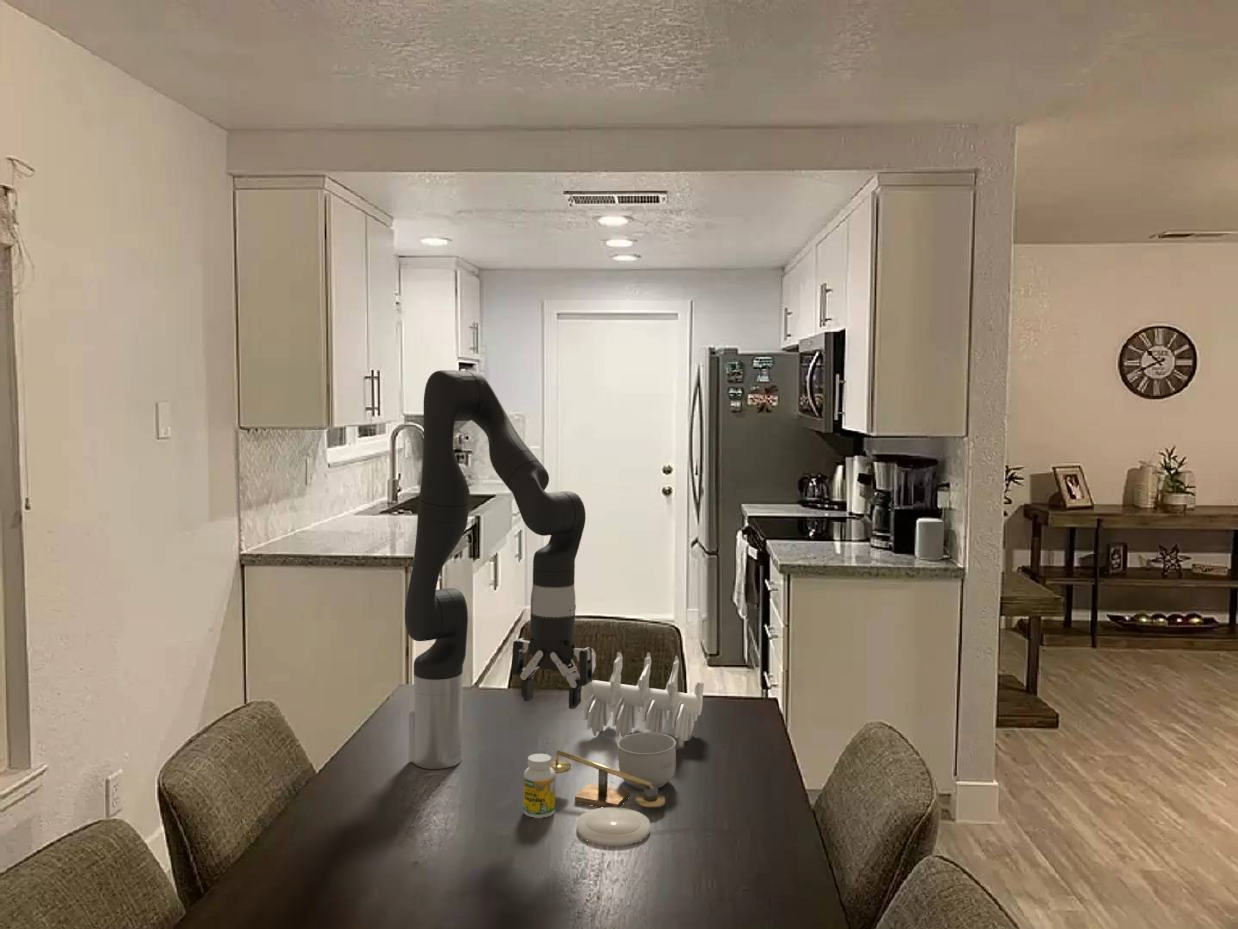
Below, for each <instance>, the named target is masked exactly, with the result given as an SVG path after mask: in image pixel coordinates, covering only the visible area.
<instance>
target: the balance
mask: <svg viewBox="0 0 1238 929" xmlns="http://www.w3.org/2000/svg"><path fill="white" fill-rule="evenodd" d="M559 756H560V757H563V758H566V759H568V760H571V761H574V762H575V763H580V764H582V765H585V766H588V767H590V768H593V769H596V770H598V781H597V782H598V783H597V784H598V785H596V784H590V783H588V784H587V785H586V786H585V787H583V788H582V789H581V790H580V791H579V792H578V793H577V794H575V795H574V803H575V804H577V803H581V804H580V805H582V804H587V805H586V806H588V805H593V806H597V807H596V808H599V807H603V808H605V807H619V808H620V807H621V806H622V805H623V803H625V802H626V801H627V800H628V801H629V799H630V798H631V791H630V790H624V789H619V788H613V787H608V780H609V779H608V778H609V775H608V774H611V775H612V776H616V777H618V778H621V779H623V778H624V779H626V780H629V781H632V782H635V783H637V784H640V785H643V786H644V789H643V793H641V794H638V795H637V796H636V798H635V803H636V804H637V805H639V806H640V807H643V808H647V809H649V808H650V809H654V808H655V809H656V808H660V807H663V806H665V804H666V798H665V796H664V795H661V794H659V793H658V792H659V791H658V790H659V788H658V787H657V786H655V785H652V783H651V782H648V781H645V780H642V779H640V778H637V777H634V776H631V775H628V774H626V773H623V772H620V771H619V770H617V769H614V768H611V767H608V766H606V765H604V764H600V763H597V762H594V761H592V760H589V759H587V758H584V757H582V756H578V755H574V754H572V753H570V752H567V751H564V750H561V749H557V750H556V752H555V759H551V768H553V770H554V771H555V774H564V773H567V772H569V771H571V770H572V764H571V762H569V761H566V760H563V759H560V758H559ZM624 779H623V780H624ZM629 797H630V798H629ZM628 798H629V799H628ZM628 801H627V802H628ZM627 802H626V803H627ZM626 803H625V804H626ZM593 806H592V807H593ZM623 806H624V805H623ZM623 806H622V807H623ZM622 807H621V808H622Z"/></svg>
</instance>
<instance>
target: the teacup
mask: <svg viewBox="0 0 1238 929" xmlns="http://www.w3.org/2000/svg"><path fill="white" fill-rule="evenodd" d="M675 739H676V738H675V737H673V736H671V735H669V734H664V733H662V734H661V733H651V732H650V730H645V729H643V730H642V731H641V732H635V733H632V734H631V733H630V734H629V735H626V736H625V737H623V738H622V737H621V738H619V740H618V741H617V743H616V747H617V762H618V769H619V770H618V771H620V772H623V773H626V774H628V775H631V776H634V777H637V778H640V779H642V780H645V781H648V782H651V783H652V785H655V786H657V787H658V789H660V788H662V787H664V786H665V785H667V783H668V782H669V781H671V779H673V777H674V775H675V773H676V767H677V766H676V764H677V757H676V756H677V755H676V754H677V752H676V750H677V749H676V748H677V741H676V740H675ZM622 780H623V781H624V782H626V783H628V784H629V786H631V787H632V786H633V788H634V787H635V788H634V789H637V790H638V789H639V790H644V786H643V785H640V784H637V783H635V782H632V781H629V780H626V779H624V778H622Z"/></svg>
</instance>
